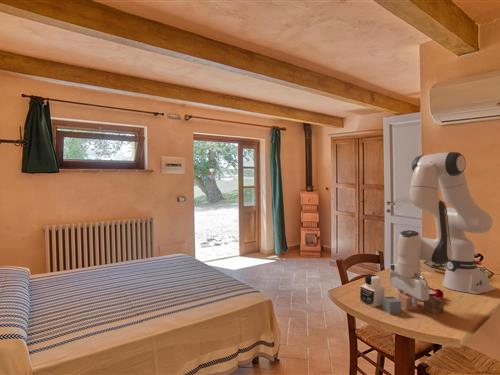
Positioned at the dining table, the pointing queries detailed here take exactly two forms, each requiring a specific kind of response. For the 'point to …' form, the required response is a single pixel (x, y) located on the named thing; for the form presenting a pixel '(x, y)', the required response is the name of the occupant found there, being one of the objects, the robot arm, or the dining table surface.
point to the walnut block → (434, 305)
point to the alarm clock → (435, 293)
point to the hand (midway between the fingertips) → (407, 302)
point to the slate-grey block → (391, 305)
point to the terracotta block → (406, 301)
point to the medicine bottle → (372, 291)
